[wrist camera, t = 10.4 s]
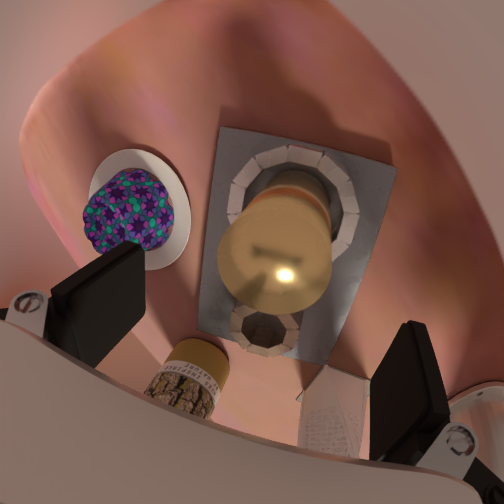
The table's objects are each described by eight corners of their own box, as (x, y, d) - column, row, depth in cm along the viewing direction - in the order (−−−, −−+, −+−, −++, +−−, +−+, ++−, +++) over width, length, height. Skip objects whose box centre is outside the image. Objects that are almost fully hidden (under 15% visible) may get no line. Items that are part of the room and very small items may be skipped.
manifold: (393, 165, 20) (405, 173, 17) (325, 355, 29) (323, 384, 25) (226, 126, 22) (207, 127, 19) (202, 321, 31) (186, 345, 27)
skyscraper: (285, 393, 33) (214, 620, 8) (317, 349, 29) (249, 642, 4) (346, 414, 32) (312, 629, 7) (385, 374, 28) (372, 637, 4)
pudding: (220, 231, 26) (196, 256, 22) (137, 284, 31) (110, 310, 27) (145, 121, 24) (107, 124, 19) (77, 195, 29) (43, 209, 24)
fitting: (337, 181, 20) (348, 229, 12) (318, 244, 23) (311, 326, 14) (269, 162, 21) (226, 196, 12) (255, 226, 23) (210, 296, 14)
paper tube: (170, 331, 32) (39, 516, 10) (227, 339, 31) (111, 564, 9) (183, 373, 35) (84, 541, 13) (235, 382, 33) (150, 575, 11)
